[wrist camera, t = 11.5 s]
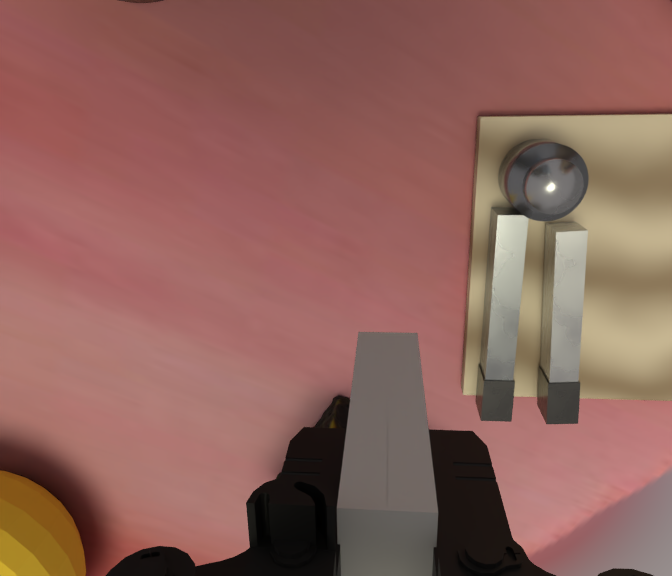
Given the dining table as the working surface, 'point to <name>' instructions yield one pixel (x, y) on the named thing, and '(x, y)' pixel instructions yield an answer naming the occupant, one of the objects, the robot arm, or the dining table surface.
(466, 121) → the dining table surface
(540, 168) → the bar
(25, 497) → the vase
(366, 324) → the dining table surface
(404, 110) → the dining table surface
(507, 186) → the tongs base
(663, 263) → the board
